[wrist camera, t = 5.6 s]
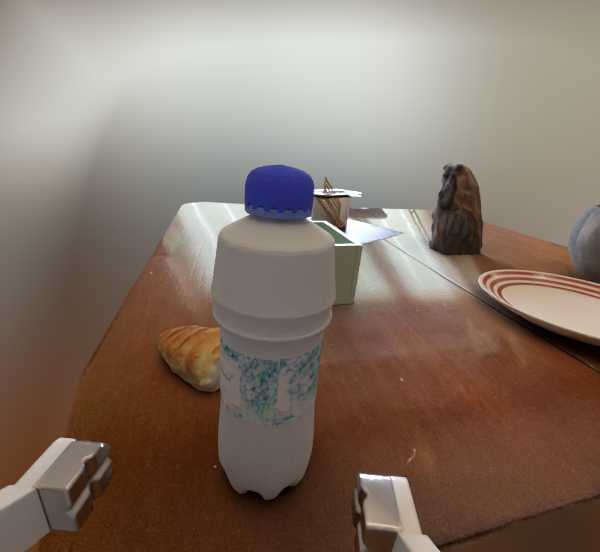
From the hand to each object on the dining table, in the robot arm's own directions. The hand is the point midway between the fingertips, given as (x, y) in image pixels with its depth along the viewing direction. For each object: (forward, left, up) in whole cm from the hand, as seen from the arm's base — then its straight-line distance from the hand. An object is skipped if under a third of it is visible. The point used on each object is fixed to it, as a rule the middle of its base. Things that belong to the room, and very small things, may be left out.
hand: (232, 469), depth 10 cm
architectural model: (+33, +75, -11) cm, 83 cm away
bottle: (+3, +8, -11) cm, 14 cm away
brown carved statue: (+59, +56, -11) cm, 82 cm away
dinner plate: (+53, +22, -11) cm, 58 cm away
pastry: (-1, +20, -11) cm, 23 cm away
